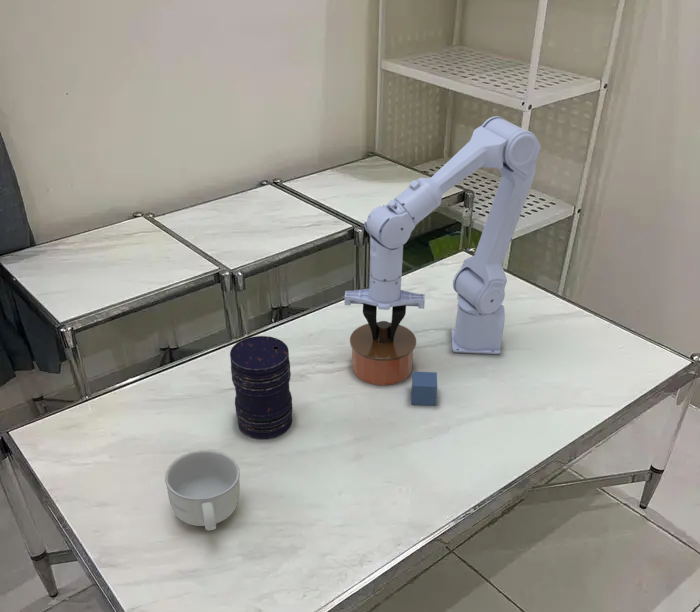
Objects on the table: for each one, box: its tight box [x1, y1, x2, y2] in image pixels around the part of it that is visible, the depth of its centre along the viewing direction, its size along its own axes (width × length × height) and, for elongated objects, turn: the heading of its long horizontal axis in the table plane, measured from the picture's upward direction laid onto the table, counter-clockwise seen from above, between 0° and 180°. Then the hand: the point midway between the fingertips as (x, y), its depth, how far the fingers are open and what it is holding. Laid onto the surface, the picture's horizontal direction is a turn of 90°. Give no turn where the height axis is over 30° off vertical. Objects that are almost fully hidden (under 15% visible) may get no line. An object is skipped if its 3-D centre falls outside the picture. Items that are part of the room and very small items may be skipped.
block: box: [410, 370, 438, 407], centre depth 132 cm, size 4×4×4 cm
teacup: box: [164, 449, 241, 531], centre depth 107 cm, size 14×11×8 cm
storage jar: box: [229, 335, 293, 441], centre depth 123 cm, size 10×10×15 cm
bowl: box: [351, 348, 414, 386], centre depth 139 cm, size 12×12×6 cm
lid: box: [349, 320, 417, 361], centre depth 136 cm, size 13×13×4 cm
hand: (383, 337), depth 137 cm, fingers closed on lid, 2 cm apart
